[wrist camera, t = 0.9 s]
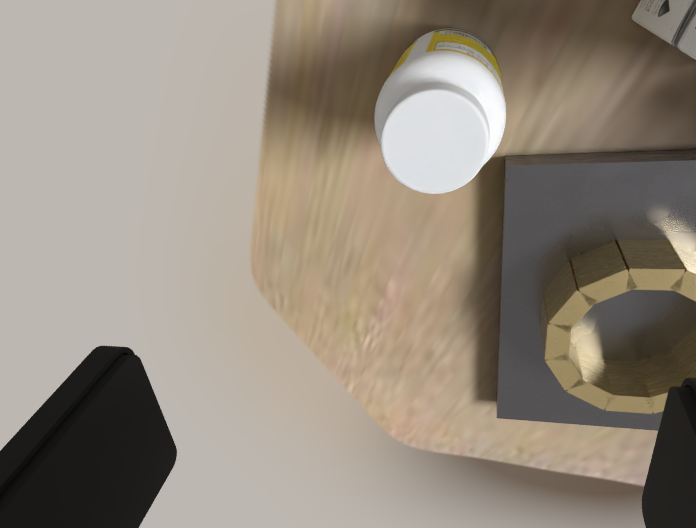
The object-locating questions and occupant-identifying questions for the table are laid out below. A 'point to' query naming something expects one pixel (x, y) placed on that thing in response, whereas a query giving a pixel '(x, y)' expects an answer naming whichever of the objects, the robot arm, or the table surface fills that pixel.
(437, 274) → the table surface
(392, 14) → the table surface
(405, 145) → the supplement bottle
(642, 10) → the ink box
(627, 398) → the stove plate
